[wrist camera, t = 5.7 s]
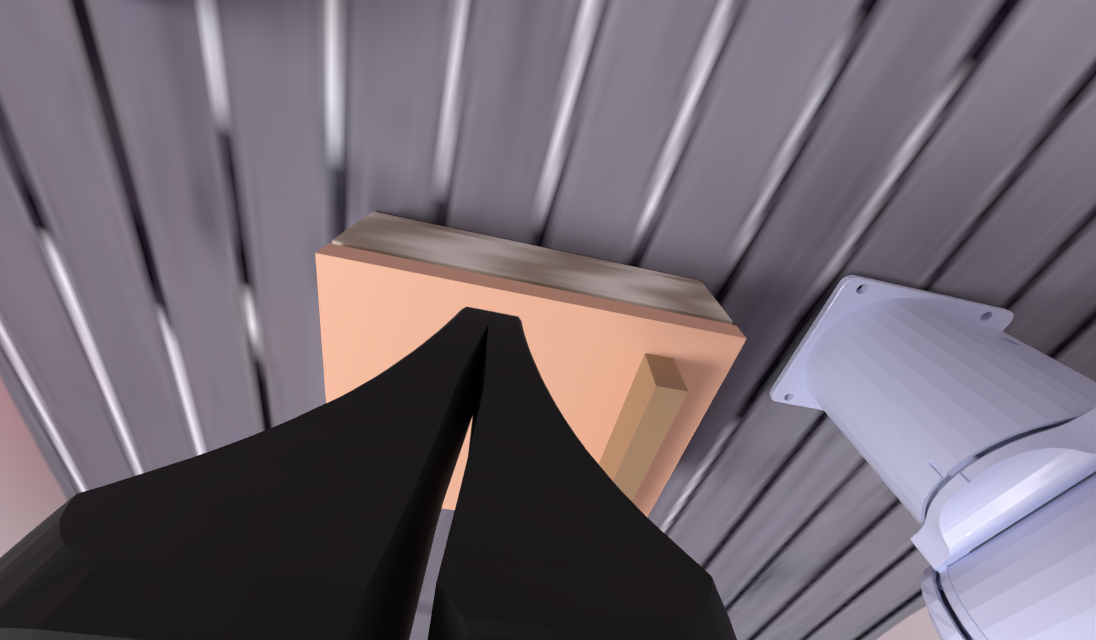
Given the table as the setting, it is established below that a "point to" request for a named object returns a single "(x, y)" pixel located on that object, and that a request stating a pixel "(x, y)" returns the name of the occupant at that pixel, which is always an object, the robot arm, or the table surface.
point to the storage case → (531, 265)
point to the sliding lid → (538, 355)
